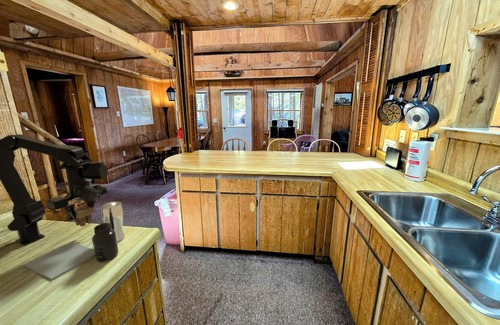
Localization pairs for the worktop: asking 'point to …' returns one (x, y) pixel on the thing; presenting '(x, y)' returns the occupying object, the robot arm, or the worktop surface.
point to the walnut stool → (83, 215)
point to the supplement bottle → (104, 242)
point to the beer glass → (114, 218)
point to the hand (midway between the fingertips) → (83, 216)
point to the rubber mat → (60, 260)
